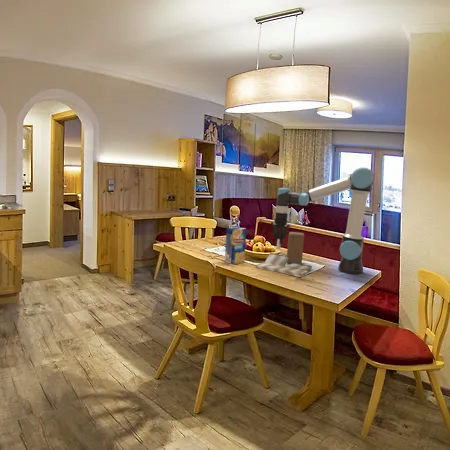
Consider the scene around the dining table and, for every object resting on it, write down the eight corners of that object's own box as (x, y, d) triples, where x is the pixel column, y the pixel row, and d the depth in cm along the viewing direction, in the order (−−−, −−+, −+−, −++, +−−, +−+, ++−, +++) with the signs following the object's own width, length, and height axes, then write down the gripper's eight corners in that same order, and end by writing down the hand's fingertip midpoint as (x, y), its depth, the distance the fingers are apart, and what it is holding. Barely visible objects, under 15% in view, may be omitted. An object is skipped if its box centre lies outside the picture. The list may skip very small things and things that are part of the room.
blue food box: (244, 262, 261) (246, 228, 258) (231, 263, 254) (233, 229, 251) (237, 259, 266) (239, 227, 263) (224, 261, 260) (226, 227, 257)
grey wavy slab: (311, 268, 250) (311, 266, 250) (306, 272, 243) (306, 269, 243) (292, 265, 257) (292, 262, 257) (286, 268, 250) (286, 265, 249)
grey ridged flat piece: (288, 258, 256) (288, 255, 255) (283, 267, 250) (283, 265, 249) (270, 254, 263) (269, 252, 262) (264, 264, 257) (264, 262, 256)
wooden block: (301, 265, 262) (304, 235, 259) (286, 263, 264) (288, 233, 261) (301, 261, 272) (304, 232, 269) (287, 260, 274) (289, 231, 271)
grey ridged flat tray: (307, 273, 241) (307, 270, 241) (301, 276, 233) (301, 273, 233) (262, 264, 257) (262, 262, 256) (255, 267, 248) (255, 265, 248)
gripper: (293, 213, 254) (290, 249, 257) (274, 210, 260) (271, 246, 264) (289, 214, 247) (285, 251, 251) (269, 211, 254) (266, 248, 257)
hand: (278, 248), depth 257 cm, fingers closed
